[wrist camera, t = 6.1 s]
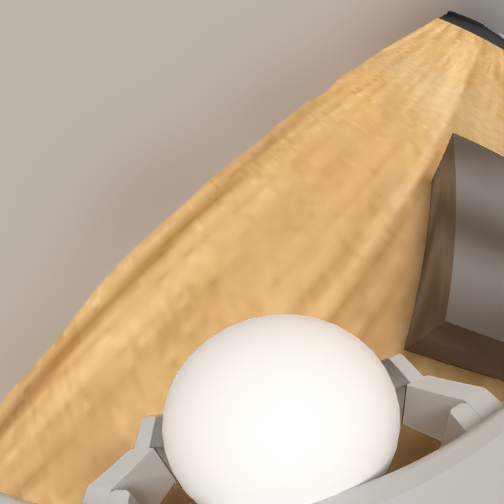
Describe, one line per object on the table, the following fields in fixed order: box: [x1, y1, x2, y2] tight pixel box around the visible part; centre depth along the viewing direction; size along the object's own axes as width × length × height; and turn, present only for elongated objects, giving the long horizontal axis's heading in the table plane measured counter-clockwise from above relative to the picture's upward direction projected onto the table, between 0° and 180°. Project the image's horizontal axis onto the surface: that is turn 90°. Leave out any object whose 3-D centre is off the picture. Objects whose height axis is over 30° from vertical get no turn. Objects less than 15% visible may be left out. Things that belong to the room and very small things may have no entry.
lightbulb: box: [162, 314, 400, 504], centre depth 9 cm, size 6×6×11 cm
